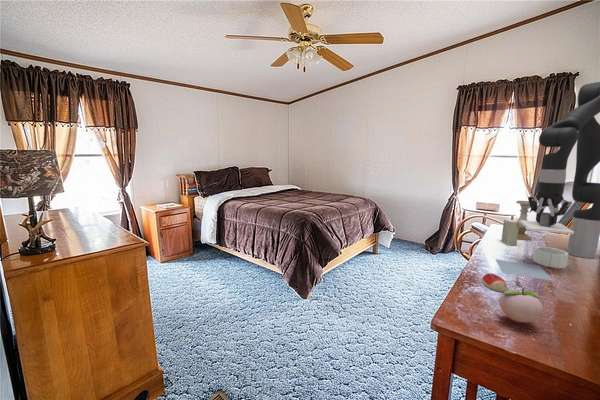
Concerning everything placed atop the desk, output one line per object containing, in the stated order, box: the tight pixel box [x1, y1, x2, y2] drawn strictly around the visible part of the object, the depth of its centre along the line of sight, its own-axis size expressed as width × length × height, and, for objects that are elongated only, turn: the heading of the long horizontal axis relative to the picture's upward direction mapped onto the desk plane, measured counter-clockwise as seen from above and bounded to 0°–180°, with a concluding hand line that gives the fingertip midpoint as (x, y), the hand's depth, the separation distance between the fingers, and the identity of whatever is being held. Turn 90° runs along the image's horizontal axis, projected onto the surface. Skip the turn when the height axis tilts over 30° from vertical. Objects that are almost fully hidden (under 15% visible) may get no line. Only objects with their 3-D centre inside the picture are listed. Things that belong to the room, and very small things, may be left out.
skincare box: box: [500, 218, 520, 247], centre depth 138 cm, size 6×4×12 cm
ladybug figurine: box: [481, 272, 509, 293], centre depth 94 cm, size 7×10×4 cm
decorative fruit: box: [498, 287, 544, 323], centre depth 72 cm, size 9×8×10 cm
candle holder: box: [515, 200, 532, 241], centre depth 147 cm, size 9×9×20 cm
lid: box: [520, 211, 574, 235], centre depth 107 cm, size 13×13×6 cm
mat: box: [494, 258, 554, 282], centre depth 107 cm, size 15×15×1 cm
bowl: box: [532, 246, 570, 269], centre depth 112 cm, size 10×10×6 cm
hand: (545, 223), depth 107 cm, fingers closed on lid, 3 cm apart
